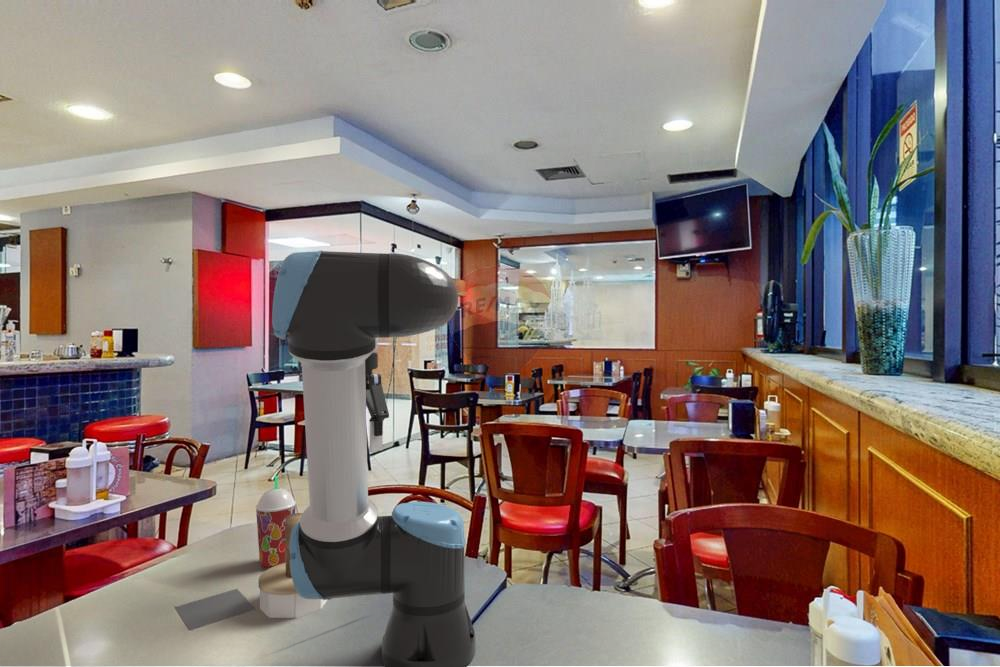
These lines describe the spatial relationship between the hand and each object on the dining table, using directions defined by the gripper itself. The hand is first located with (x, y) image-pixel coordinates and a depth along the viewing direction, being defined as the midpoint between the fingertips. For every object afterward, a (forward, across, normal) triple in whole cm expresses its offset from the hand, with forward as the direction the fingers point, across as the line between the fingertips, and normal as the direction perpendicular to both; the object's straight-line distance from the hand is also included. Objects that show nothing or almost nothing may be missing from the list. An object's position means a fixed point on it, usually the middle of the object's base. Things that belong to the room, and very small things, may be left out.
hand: (360, 446), depth 122 cm
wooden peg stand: (+22, -8, +18) cm, 29 cm away
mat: (+27, 0, +30) cm, 40 cm away
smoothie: (+27, +13, +14) cm, 33 cm away
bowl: (+27, -8, +18) cm, 33 cm away
